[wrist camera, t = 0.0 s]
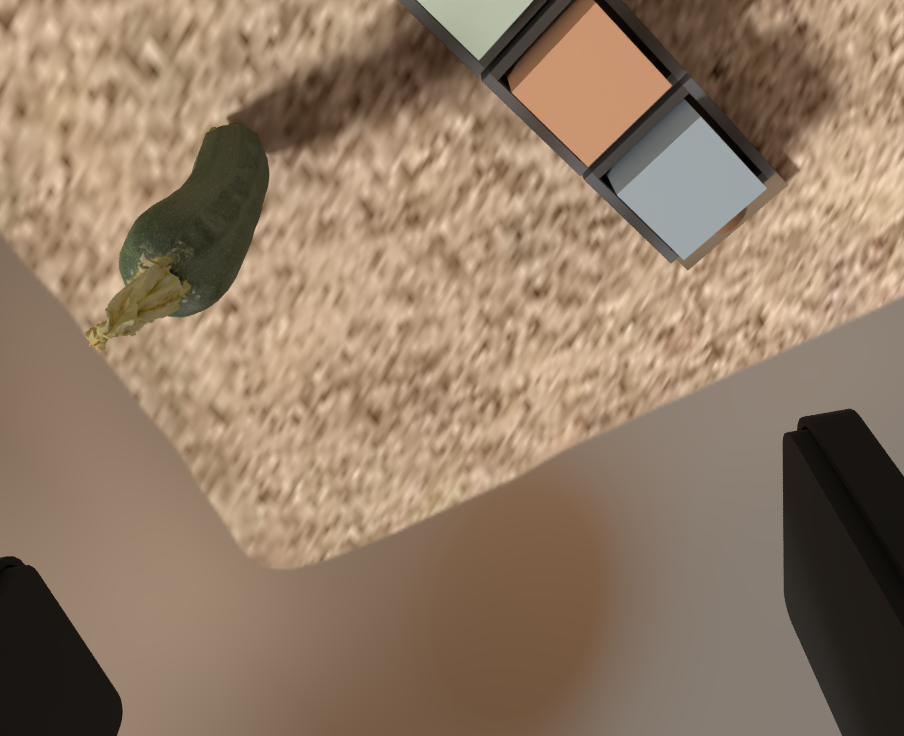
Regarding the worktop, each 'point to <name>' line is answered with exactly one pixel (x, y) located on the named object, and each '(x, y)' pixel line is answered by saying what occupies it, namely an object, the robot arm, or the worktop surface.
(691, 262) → the gray compartment tray
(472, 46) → the sage key
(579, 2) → the terracotta key
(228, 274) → the vegetable
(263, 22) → the worktop surface
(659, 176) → the slate key
